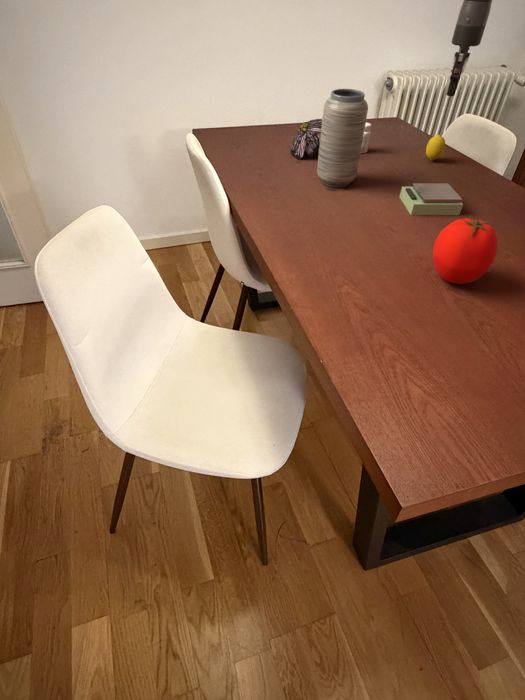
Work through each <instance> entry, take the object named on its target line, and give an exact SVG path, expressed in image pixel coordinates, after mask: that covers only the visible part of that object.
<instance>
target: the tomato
mask: <svg viewBox="0 0 525 700" xmlns="http://www.w3.org/2000/svg"><path fill="white" fill-rule="evenodd" d="M468 217H469V218H459V219H456V220H454V221H452V222H451V223H449V224H448V225H447V226H446V227H444V228H443V229H441V231H440V232H439V234H438V235H437V237H436V239H435V241H434V245H433V248H432V249H433V250H432V253H433V254H432V256H433V266H434V270H435V271H436V273H437V274H438V276H440V278H441V279H442V280H443V281H445V282H447V283H453V284H458V285H466V284H468V283H472V282H475V281H476V280H478V279H480V278H481V277H482V276H484V275H485V274H486V272H487V271H488V270H489V269H490V267H491V266H492V264H493V263H494V261H495V258H496V256H497V249H498V236H497V233H496V231H495V229H494V228H493V227H492V226H491V225H489V224H487V223H490V220H489V221H485V220H482V219H474V218H473V217H472V216H471V215H468Z"/></svg>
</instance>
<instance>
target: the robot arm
mask: <svg viewBox="0 0 525 700" xmlns="http://www.w3.org/2000/svg"><path fill="white" fill-rule="evenodd" d="M492 4H493V0H463V1H462V3H461V7H460V9H459V13H458V16H457V19H456V24H455V27H454V30H453V35H452V38H451V44H452V45H454V46H458V47H459V48H458V51H455V52H454V56H453V58H452V60H453V61H452V65H451V69H450V72H451V74H450V76H449V84H448V87H447V91H446V96H447V97H454V96H455V95H456V92H457V89H458V87H459V86H458V85H459V84H460V83H459V82H460V80H461V77H462V74H464V72H465V69H466V66H467V63H468V62H469V58H470V56H471V52H469V51H470V47H478V46H480V45H481V42H482V39H483V36H484V33H485V29H486V26H487V23H488V19H489V17H490V14H491V9H492Z"/></svg>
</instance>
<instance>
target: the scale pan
mask: <svg viewBox="0 0 525 700" xmlns="http://www.w3.org/2000/svg"><path fill="white" fill-rule="evenodd" d="M411 187H413V189H414V190H415V191H416V193H417V194H418V196H419V197H420V198H421V200H422V201H423V202H462V201H463V198H462V197H461V196H460V195H459V194H458V193H457V191H455V189H454V188H453V187H452V186H451V185H450V184H449V183H447V182H446V183H444V182H443V183H441V182H440V183H439V182H438V183H437V182H436V183H434V182H433V183H429V182H428V183H427V182H425V183H419V182H418V183H416V182H415V183H414V182H413V183H412V184H411Z"/></svg>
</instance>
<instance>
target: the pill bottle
mask: <svg viewBox="0 0 525 700" xmlns="http://www.w3.org/2000/svg"><path fill="white" fill-rule="evenodd" d="M371 129H372V123H370V122H366V124H365V129H364V135H363V140H362V146H361V152H360V154H365V153H368V150H369V146H370V140H371V134H372V131H371Z"/></svg>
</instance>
